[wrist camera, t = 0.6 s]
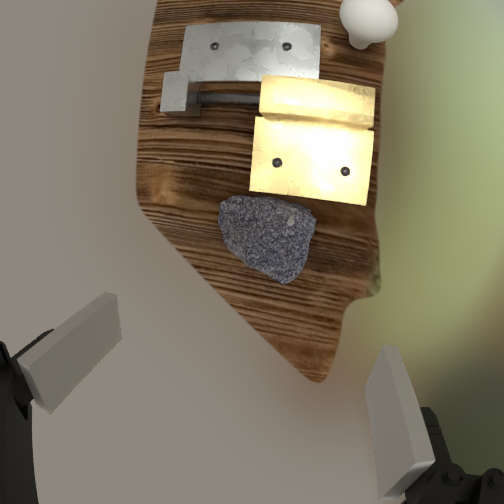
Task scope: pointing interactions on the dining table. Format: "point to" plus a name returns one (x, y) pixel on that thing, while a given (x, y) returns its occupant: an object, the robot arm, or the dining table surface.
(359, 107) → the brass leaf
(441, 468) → the robot arm
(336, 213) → the dining table surface
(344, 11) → the lightbulb
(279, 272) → the rock
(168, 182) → the dining table surface
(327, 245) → the dining table surface
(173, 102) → the zinc leaf
